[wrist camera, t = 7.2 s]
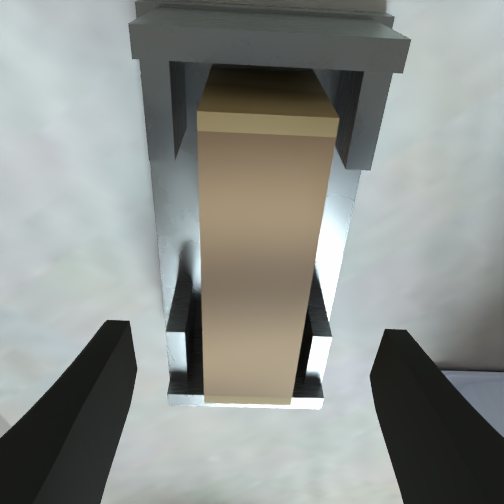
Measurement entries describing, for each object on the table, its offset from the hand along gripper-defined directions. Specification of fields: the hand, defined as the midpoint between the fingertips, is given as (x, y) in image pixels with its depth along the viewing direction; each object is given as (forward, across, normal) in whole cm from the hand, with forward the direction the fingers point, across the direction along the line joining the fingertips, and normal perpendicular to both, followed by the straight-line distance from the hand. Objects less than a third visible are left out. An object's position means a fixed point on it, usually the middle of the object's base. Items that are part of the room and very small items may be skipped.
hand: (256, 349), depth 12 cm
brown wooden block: (+7, 0, 0) cm, 7 cm away
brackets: (+8, 0, 0) cm, 8 cm away
